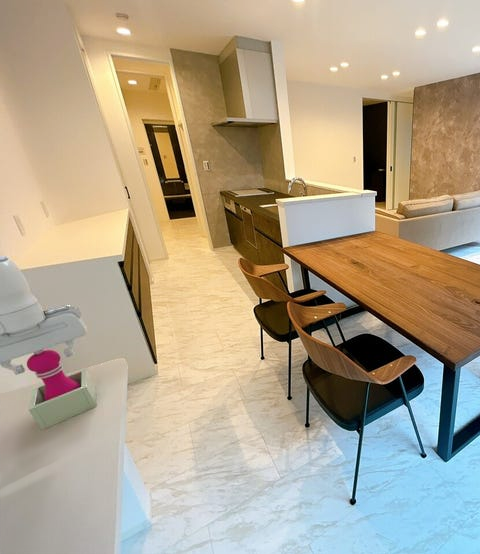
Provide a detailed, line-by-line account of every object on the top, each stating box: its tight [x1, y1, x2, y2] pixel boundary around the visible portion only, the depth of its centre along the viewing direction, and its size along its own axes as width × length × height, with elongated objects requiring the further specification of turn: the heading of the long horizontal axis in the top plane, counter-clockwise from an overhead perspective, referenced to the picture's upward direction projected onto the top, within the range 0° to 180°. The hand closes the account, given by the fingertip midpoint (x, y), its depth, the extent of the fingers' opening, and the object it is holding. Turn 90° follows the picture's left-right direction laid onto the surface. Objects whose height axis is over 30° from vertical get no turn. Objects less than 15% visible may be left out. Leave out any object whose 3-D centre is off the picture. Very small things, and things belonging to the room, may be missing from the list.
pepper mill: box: [26, 349, 81, 401], centre depth 80 cm, size 7×7×20 cm
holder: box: [28, 368, 98, 431], centre depth 83 cm, size 11×11×7 cm
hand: (46, 363), depth 78 cm, fingers open, 8 cm apart
